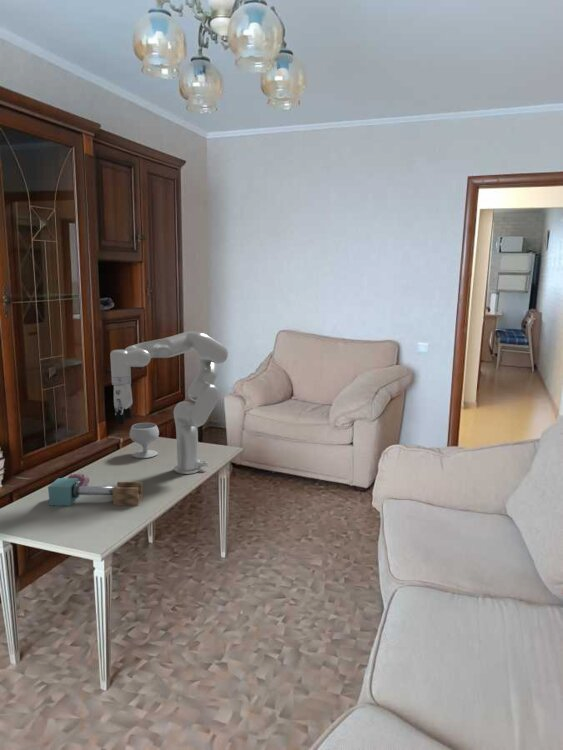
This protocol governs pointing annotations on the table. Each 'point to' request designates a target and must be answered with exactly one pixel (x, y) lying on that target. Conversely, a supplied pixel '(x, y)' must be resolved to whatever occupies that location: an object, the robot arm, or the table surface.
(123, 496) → the wooden cradle block
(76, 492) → the rod
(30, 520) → the table surface
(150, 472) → the table surface
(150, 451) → the chalice
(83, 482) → the video game controller
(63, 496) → the socket block
